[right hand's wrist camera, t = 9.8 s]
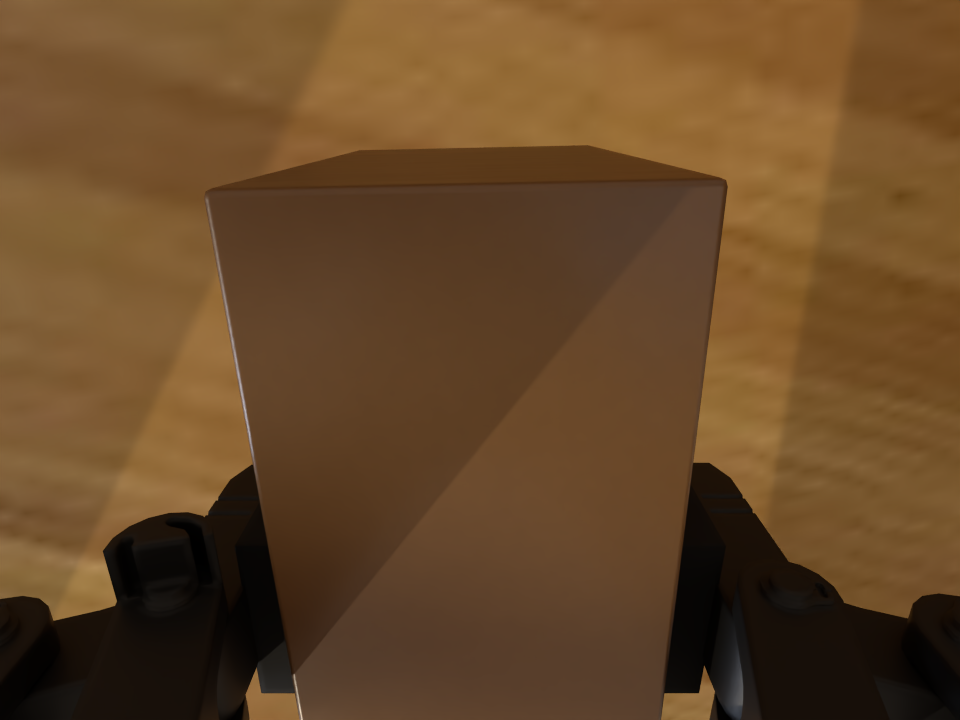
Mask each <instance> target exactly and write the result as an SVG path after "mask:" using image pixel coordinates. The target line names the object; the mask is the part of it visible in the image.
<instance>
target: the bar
mask: <svg viewBox="0 0 960 720" xmlns="http://www.w3.org/2000/svg"><path fill="white" fill-rule="evenodd" d="M726 195H727V183H726V180H724V179H722V178H719V177H715V176H711V175H707V174H703V173H699V172H695V171H691V170H687V169H682V168H678V167H674V166H670V165H666V164H662V163H658V162H654V161H650V160H646V159H642V158H637V157H633V156H629V155H625V154H621V153H617V152H613V151H609V150H605V149H601V148H597V147H592V146H588V145H583V146H538V147H492V148H446V149H401V150H359V151H355V152H352V153H348V154H344V155H340V156H336V157H332V158H328V159H324V160H321V161H317V162H313V163H309V164H305V165H301V166H297V167H293V168H289V169H286V170H282V171H278V172H274V173H270V174H266V175H262V176H258V177H254V178H251V179H247V180H243V181H239V182H235V183H231V184H227V185H223V186H219V187H216V188H212V189H210V190H208V191H206V193H205V204H206V209H207V215H208V220H209V226H210V231H211V237H212V242H213V248H214V253H215V259H216V264H217V269H218V275H219V280H220V286H221V291H222V297H223V302H224V308H225V313H226V319H227V324H228V330H229V335H230V341H231V346H232V352H233V357H234V362H235V368H236V373H237V379H238V384H239V390H240V395H241V401H242V406H243V412H244V417H245V423H246V428H247V434H248V439H249V444H250V450H251V455H252V461H253V466H254V472H255V477H256V483H257V488H258V494H259V499H260V505H261V510H262V516H263V521H264V527H265V532H266V537H267V543H268V548H269V554H270V559H271V565H272V570H273V576H274V581H275V587H276V592H277V598H278V603H279V609H280V614H281V619H282V625H283V630H284V636H285V641H286V647H287V652H288V658H289V663H290V669H291V674H292V680H293V685H294V691H295V696H296V701H297V707H298V712H299V718H300V720H661V715H662V707H663V699H664V691H665V683H666V675H667V667H668V659H669V651H670V643H671V635H672V627H673V619H674V611H675V603H676V595H677V587H678V579H679V571H680V563H681V555H682V547H683V539H684V531H685V523H686V515H687V507H688V499H689V491H690V483H691V475H692V467H693V459H694V451H695V443H696V435H697V427H698V419H699V411H700V403H701V395H702V387H703V379H704V371H705V363H706V355H707V347H708V339H709V331H710V323H711V315H712V307H713V299H714V291H715V283H716V275H717V267H718V259H719V251H720V243H721V235H722V227H723V219H724V211H725V203H726Z"/></svg>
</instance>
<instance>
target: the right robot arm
mask: <svg viewBox="0 0 960 720" xmlns="http://www.w3.org/2000/svg"><path fill="white" fill-rule="evenodd" d="M103 553H104V557H105V560H106V564H107V567H108V571H109V574H110V578H111V581H112V585H113V589H114V592H115V596H116V599H117V603H116V605H115V606H113V607H110V608H107V609H103V610H100V611H95V612H91V613H86V614H82V615H78V616H73V617H69V618H64V619H60V620H56V621H53V618H52V615H51V612H50V609H49V606H48V605H46V604H45V603H44V602H43V601H42V600H40V599H39V598H32V597H26V596H19V597H12V598H5V599H0V720H249V712H248V705H247V700H246V695H245V694H246V692H247V689H248V687H249V685H250V682H251V680H252V677H253V675H254V672H255V670H256V667H257V671H258V677H259V682H260V687H261V693H295V691H294V685H293V680H292V674H291V669H290V663H289V658H288V652H287V647H286V641H285V636H284V630H283V625H282V619H281V614H280V609H279V603H278V598H277V592H276V587H275V581H274V576H273V570H272V565H271V559H270V554H269V548H268V543H267V537H266V532H265V527H264V521H263V516H262V510H261V505H260V499H259V494H258V488H257V483H256V477H255V472H254V466H253V465H250V466H249V467H248V468H246V469H245V470H243V471H242V472H241V473H239V474H238V475H236V476H235V477H234V478H232V479H231V480H230V481H229V483H228V484H227V485H226V487H225V488H224V490H223V491H222V493H221V494H220V496H219V497H218V501H215V503H214V504H213V506H212V507H211V509H210V510H209V513H208V515H206V516H205V517H203V516H201V515H197V514H193V513H189V512H184V513H167V514H163V515H159V516H155V517H151V518H148V519H145V520H143V521H141V522H138V523H136V524H134V525H132V526H129V527H128V528H126V529H125V530H124V531H122V532H121V533H119V534H118V535H117V536H115V537H114V538H113V539H112V540H111V541H110V542H109V544H108V545H107V546H106V548H105V549H104V550H103ZM704 666H705V668H706V670H707V673H708V675H709V678H710V680H711V683H712V685H713V688H714V690H715V695H714V700H713V705H712V710H711V715H710V720H960V596H953V595H945V594H933V595H926V596H922V597H921V598H919V599H918V600H917V601H916V602H915V603H913V605H912V608H911V611H910V614H909V617H908V619H907V618H903V617H898V616H894V615H890V614H885V613H881V612H876V611H872V610H867V609H863V608H859V607H856V606H852V605H849V604H846V603H844V602H843V600H842V598H841V597H840V595H839V594H838V592H837V591H836V589H835V588H834V586H832V585H831V584H830V583H829V582H827V581H826V580H825V579H824V578H822V577H821V576H820V575H819V574H817V573H815V572H813V571H811V570H809V569H807V568H805V567H803V566H801V565H798V564H794V563H791V562H788V560H787V559H786V557H785V556H784V554H783V553H782V552H781V550H780V549H779V547H778V546H777V544H776V543H775V541H774V540H773V539H772V537H771V536H770V534H769V533H768V531H767V530H766V528H765V527H764V526H763V524H762V523H761V521H760V520H759V518H758V517H757V515H756V514H755V513H753V512H752V508H751V507H750V505H749V504H748V502H747V501H746V500H745V499H743V497H742V494H741V492H740V491H739V489H738V488H737V487H736V485H735V484H734V482H733V481H732V479H731V478H730V477H729V476H727V475H726V474H724V473H723V472H721V471H720V470H719V469H717V468H716V467H714V466H713V465H712V464H710V463H693V467H692V475H691V483H690V491H689V499H688V507H687V515H686V523H685V531H684V539H683V547H682V555H681V563H680V571H679V579H678V587H677V595H676V603H675V611H674V619H673V627H672V635H671V643H670V651H669V659H668V667H667V675H666V683H665V691H664V693H699V690H700V685H701V679H702V674H703V668H704Z"/></svg>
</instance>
